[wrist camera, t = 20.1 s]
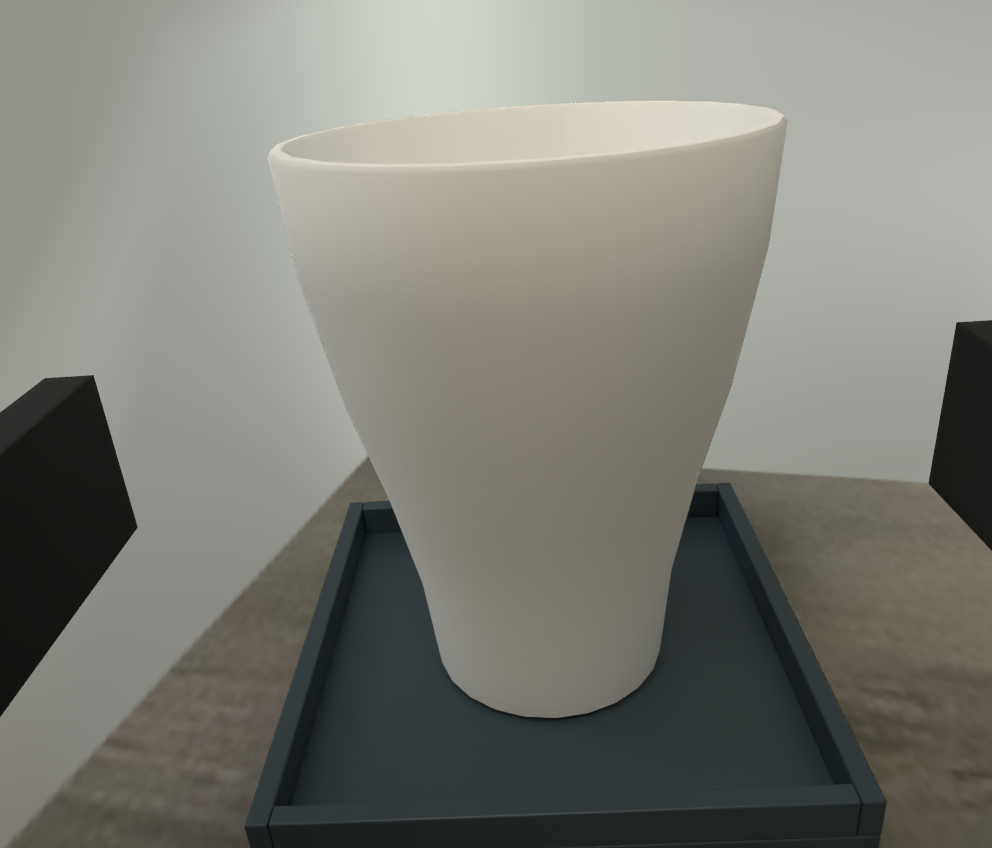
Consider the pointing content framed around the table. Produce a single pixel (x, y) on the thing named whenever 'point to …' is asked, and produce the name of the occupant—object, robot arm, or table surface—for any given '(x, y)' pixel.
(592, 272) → the cup
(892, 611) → the table surface
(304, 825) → the frame
